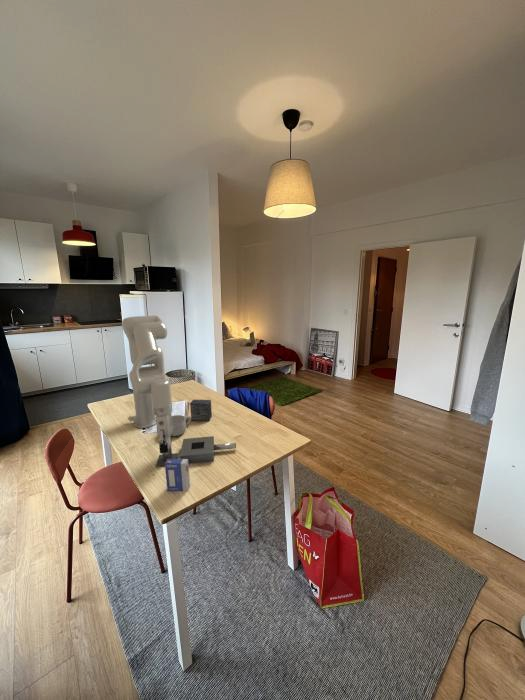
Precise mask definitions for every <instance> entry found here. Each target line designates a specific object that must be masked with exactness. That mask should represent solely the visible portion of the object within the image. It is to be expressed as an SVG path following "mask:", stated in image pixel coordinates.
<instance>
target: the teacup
mask: <svg viewBox="0 0 525 700" xmlns="http://www.w3.org/2000/svg"><path fill="white" fill-rule="evenodd" d="M171 416H172V423H173V430H172V433H171V437H178V436H180V435H182V434H184V432H185V431H186V428H187V426H188V425H189V424H190V422H191V415H189V414H188V415H182V414H174V415H171ZM187 419H188V420H187Z"/></svg>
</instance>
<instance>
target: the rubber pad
mask: <svg viewBox="0 0 525 700" xmlns="http://www.w3.org/2000/svg"><path fill="white" fill-rule="evenodd" d="M178 457H179V453H178V452H177V453H175V452H174V453H173V452H172V459H178ZM159 467H165V462H164V461H163V459H162V454H158V458H157V461H156V465H155V468H159Z"/></svg>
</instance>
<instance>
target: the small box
mask: <svg viewBox="0 0 525 700" xmlns="http://www.w3.org/2000/svg"><path fill="white" fill-rule="evenodd" d="M189 407H190V417H191V421H192V422H196V421H197V422H210V421H211V419H212V417H213V414H212V400H211V399H192V400H191V402H190V403H189ZM191 421H190V422H191Z"/></svg>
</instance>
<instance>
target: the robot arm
mask: <svg viewBox="0 0 525 700" xmlns="http://www.w3.org/2000/svg"><path fill="white" fill-rule="evenodd" d="M166 326H167V325H166V323H165V322H164V321H163V319H161V318H160V317H159V316H158V315H143V316H142V315H139V316H129V317H125V318H123V319H122V321H121V327H122V330H123V333H124V334H125V337H126V338H127V340H128V348H129V356H130V362H131V364H132V368H131V370H130V372H129V374H128V375H129V380H130V383H131V388H132V393H133V394H132V395H133V401H134V409H135V410H134V411H135V415H133V416H128V417H127V419H128V421H129V422H133V426H134V427H135V428H138V429H144V428H145V429H146V428H150V427H153V426H155V425H156V435H157V438H158V440H159V441H158V445H159V453H160V454H162V453H168V443H167V438H171V440H172V439H173V438H172V437H173V436H171V433H172V430H173V423H172V416H173V415H172V413H173V405H172V403H173V402H172V391H171V381H170V378H169V376H168V375H167V374H165V362H164V361H165V360H164V353H163V350H162V348H161V347H160V346H159V345H158V343H157V340H164V339H166V338H167V336H168V330H167V327H166ZM164 435H165V437H163V436H164ZM163 439H165V441H164V440H163Z"/></svg>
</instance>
